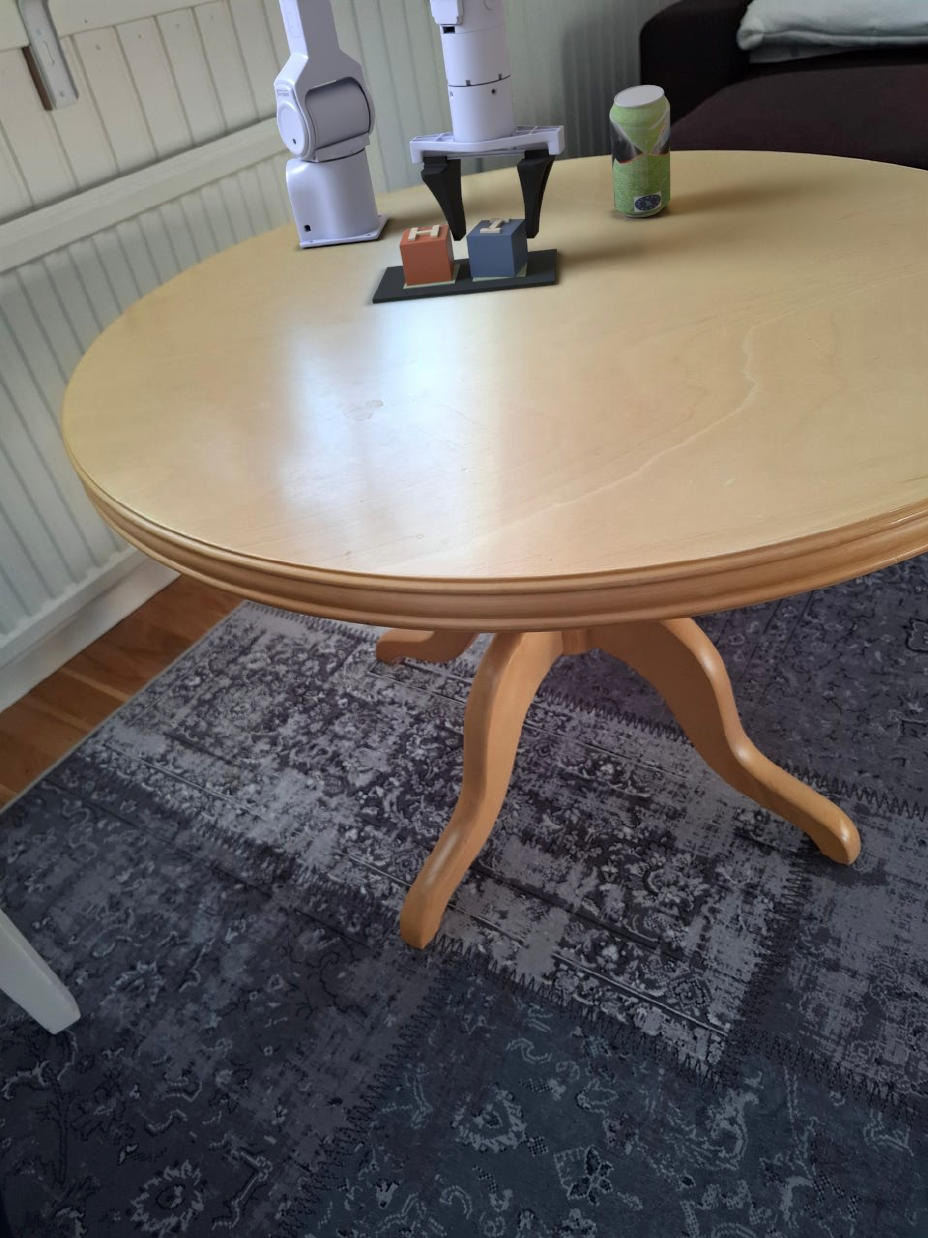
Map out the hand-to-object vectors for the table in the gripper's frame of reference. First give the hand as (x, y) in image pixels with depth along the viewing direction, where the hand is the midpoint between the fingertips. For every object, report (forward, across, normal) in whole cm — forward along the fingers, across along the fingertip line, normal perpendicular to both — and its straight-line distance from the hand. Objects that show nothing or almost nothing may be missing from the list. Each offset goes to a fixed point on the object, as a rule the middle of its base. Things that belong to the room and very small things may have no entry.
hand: (496, 236), depth 88 cm
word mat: (+3, +3, +2) cm, 5 cm away
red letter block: (+3, +6, +2) cm, 7 cm away
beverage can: (+3, -12, -16) cm, 20 cm away
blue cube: (+3, 0, +1) cm, 3 cm away
